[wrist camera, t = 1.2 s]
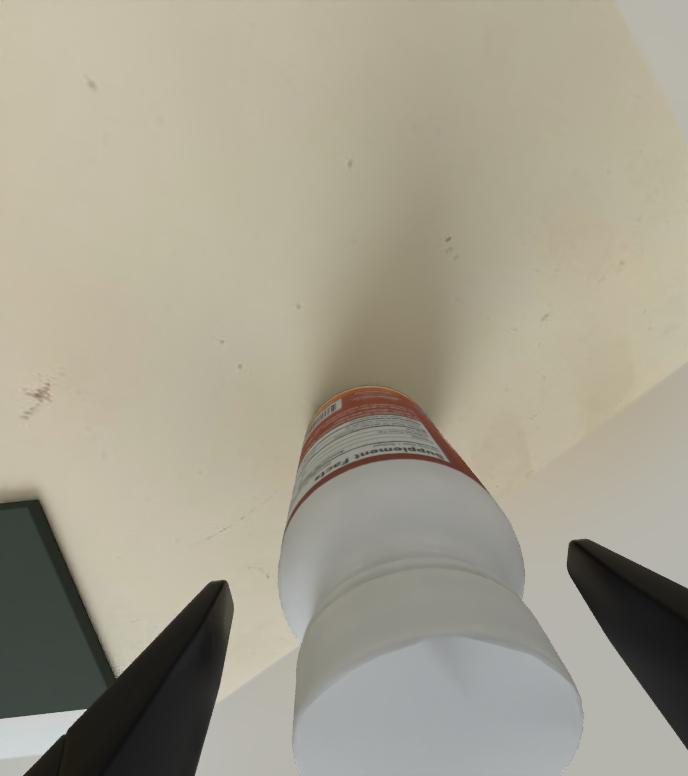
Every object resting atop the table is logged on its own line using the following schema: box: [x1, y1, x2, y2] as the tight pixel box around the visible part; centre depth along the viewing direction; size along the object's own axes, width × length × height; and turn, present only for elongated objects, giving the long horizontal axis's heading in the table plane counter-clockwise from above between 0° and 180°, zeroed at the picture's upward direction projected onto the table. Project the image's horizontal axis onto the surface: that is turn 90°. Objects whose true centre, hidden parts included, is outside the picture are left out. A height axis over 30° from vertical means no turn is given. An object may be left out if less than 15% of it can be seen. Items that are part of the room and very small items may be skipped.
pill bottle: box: [278, 386, 584, 776], centre depth 10 cm, size 6×6×11 cm
